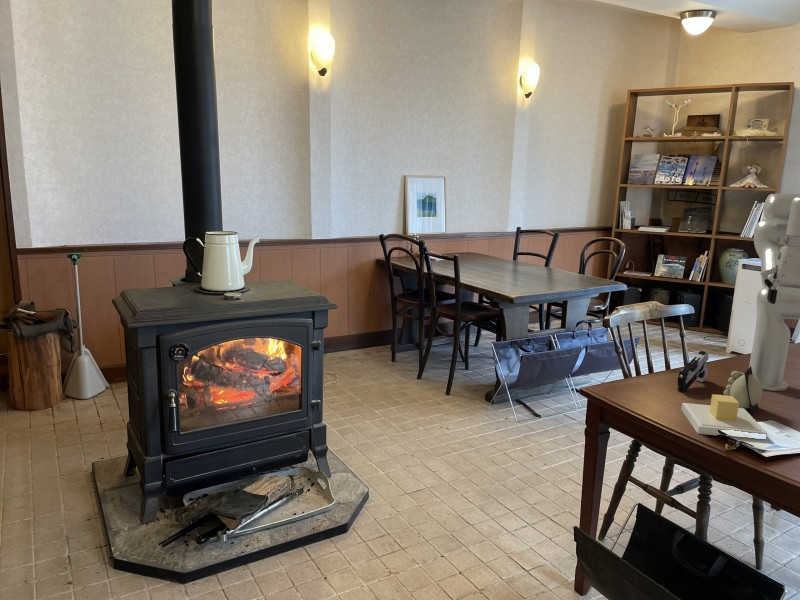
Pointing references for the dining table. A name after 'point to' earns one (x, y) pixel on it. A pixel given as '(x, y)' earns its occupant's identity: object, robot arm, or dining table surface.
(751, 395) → the decorative object
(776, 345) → the robot arm
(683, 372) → the toy gun
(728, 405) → the mustard cube
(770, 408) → the dining table surface
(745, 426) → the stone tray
